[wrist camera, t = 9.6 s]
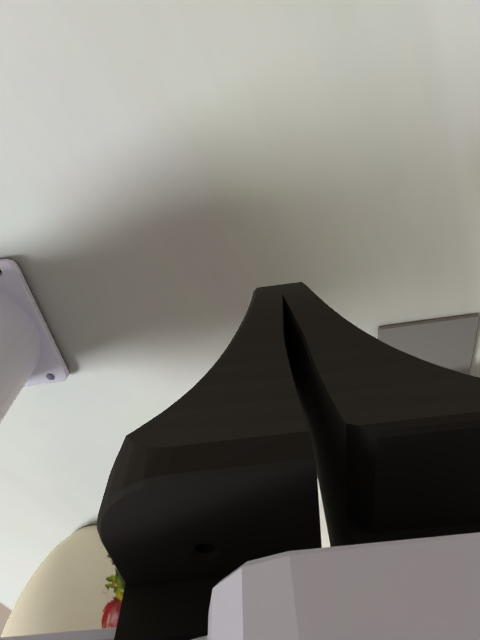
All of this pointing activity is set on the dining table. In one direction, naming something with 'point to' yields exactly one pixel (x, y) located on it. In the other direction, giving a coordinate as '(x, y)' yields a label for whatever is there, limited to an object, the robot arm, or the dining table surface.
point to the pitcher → (70, 590)
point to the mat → (436, 340)
